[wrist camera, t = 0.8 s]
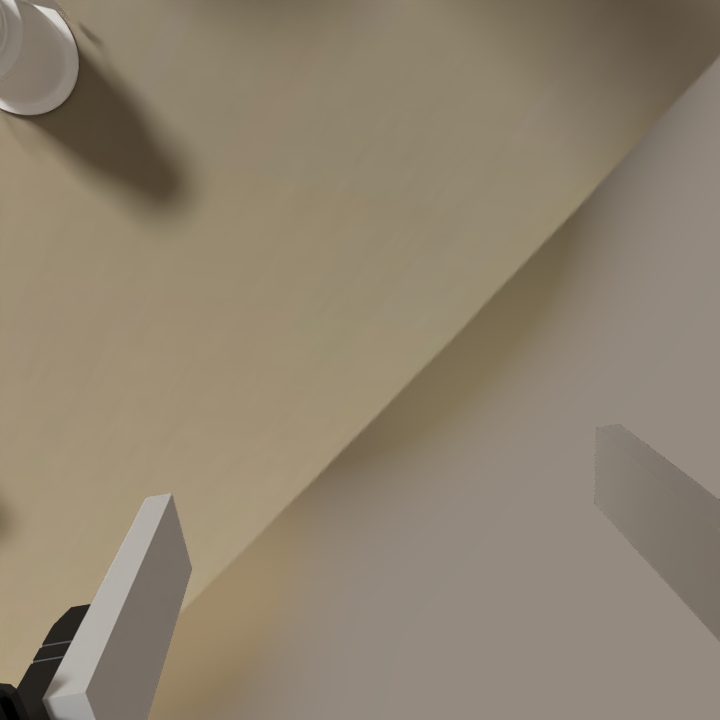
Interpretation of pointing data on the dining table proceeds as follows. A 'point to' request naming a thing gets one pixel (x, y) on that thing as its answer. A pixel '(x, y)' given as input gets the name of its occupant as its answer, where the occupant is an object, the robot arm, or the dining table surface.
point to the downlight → (35, 57)
